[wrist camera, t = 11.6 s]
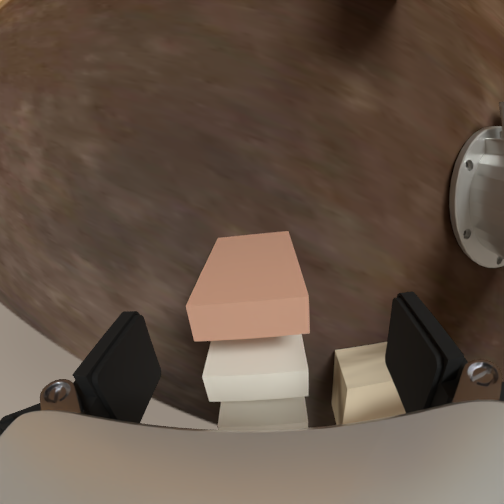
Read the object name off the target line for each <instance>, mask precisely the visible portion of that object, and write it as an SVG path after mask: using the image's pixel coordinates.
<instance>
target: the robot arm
mask: <svg viewBox="0 0 504 504" xmlns="http://www.w3.org/2000/svg"><path fill="white" fill-rule="evenodd" d="M499 108H500V116H501V119H502V126H490V127H485V128H482V129H480V130H479V131H477V132H475V133H474V134H473V135H472V136H471V137H470V138H469V139H468V140H467V142H466V143H465V145H464V146H463V148H462V149H461V151H460V153H459V156H458V158H457V160H456V162H455V166H454V170H453V173H452V178H451V185H450V198H449V208H450V217H451V223H452V227H453V232H454V235H455V237H456V239H457V242H458V244H459V246H460V247H461V249H462V250H463V252H464V253H465V254H466V255H467V256H468V257H469V258H470V259H471V260H473V261H474V262H476V263H477V264H479V265H481V266H484V267H486V268H498V267H502V266H504V102H499ZM385 363H386V366H387V368H388V371H389V373H390V375H391V378H392V380H393V382H394V385H395V387H396V390H397V392H398V394H399V397H400V399H401V402H402V404H403V407H404V409H405V412H406V413H404V414H400V415H395V416H390V417H384V418H379V419H373V420H367V421H361V422H354V423H347V424H340V425H331V426H322V427H311V428H299V429H282V430H205V429H189V428H176V427H166V426H156V425H148V424H141V423H140V421H141V419H142V417H143V414H144V412H145V410H146V408H147V405H148V403H149V401H150V399H151V397H152V395H153V392H154V390H155V388H156V386H157V384H158V381H159V379H160V377H161V368H160V366H159V363H158V360H157V357H156V354H155V351H154V348H153V345H152V342H151V339H150V336H149V333H148V330H147V327H146V323H145V320H144V317H143V316H142V315H140V314H139V313H138V312H137V311H135V312H123V313H122V314H121V315H120V316H119V317H118V318H117V320H116V321H115V322H114V323H113V324H112V326H111V327H110V328H109V329H108V331H107V332H106V333H105V334H104V335H103V337H102V338H101V339H100V340H99V342H98V343H97V344H96V345H95V347H94V348H93V349H92V350H91V352H90V353H89V354H88V356H87V357H86V358H85V359H84V361H83V362H82V363H81V365H80V366H79V367H78V368H77V370H76V371H75V372H74V374H73V376H74V378H75V382H74V383H72V382H71V381H69V380H66V379H59V380H55V381H53V382H51V383H50V384H48V385H47V386H46V387H45V388H44V389H43V390H42V392H41V394H40V403H39V404H37V405H34V406H31V407H29V408H26V409H23V410H21V411H18V412H15V413H12V414H10V415H7V416H5V417H3V418H2V419H1V420H0V504H504V382H502V379H503V378H502V372H501V370H500V368H499V367H498V366H497V365H496V364H494V363H493V362H491V361H488V360H485V359H475V360H472V361H469V362H467V360H466V359H465V358H464V355H463V353H462V352H461V351H460V349H459V348H458V347H457V345H456V344H455V343H454V341H453V340H452V339H451V338H450V336H449V335H448V334H447V332H446V331H445V330H444V329H443V327H442V326H441V325H440V323H439V322H438V321H437V320H436V318H435V317H434V316H433V315H432V313H431V312H430V311H429V310H428V309H427V307H426V306H425V305H424V304H423V303H422V301H421V300H420V299H419V298H418V297H417V295H416V294H415V293H414V292H406V293H399V294H398V295H397V298H394V299H393V302H392V311H391V319H390V327H389V334H388V341H387V347H386V353H385Z"/></svg>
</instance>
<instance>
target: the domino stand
mask: <svg viewBox="0 0 504 504" xmlns="http://www.w3.org/2000/svg"><path fill="white" fill-rule="evenodd" d="M386 347H387V342H383V343H377V344H371V345H365V346H359V347H352V348H346V349H339V350H335V358H334V375H333V389H332V401H331V404H332V408H333V412H334V417H335V421H336V425H340V424H347V423H354V422H361V421H367V420H373V419H379V418H384V417H390V416H395V415H400V414H404V413H406V412H405V409H404V407H403V404H402V402H401V399H400V397H399V394H398V392H397V390H396V387H395V385H394V382H393V380H392V378H391V375H390V373H389V371H388V368H387V366H386V363H385V353H386Z"/></svg>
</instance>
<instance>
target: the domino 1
mask: <svg viewBox="0 0 504 504" xmlns="http://www.w3.org/2000/svg"><path fill="white" fill-rule="evenodd" d="M186 309H187V313H188V318H189V322H190V326H191V330H192V334H193V338H194V341H219V340H237V339H252V338H265V337H277V336H288V335H298V334H307V333H310V326H309V296H308V292H307V289H306V286H305V282H304V279H303V276H302V273H301V270H300V266H299V263H298V260H297V257H296V254H295V251H294V248H293V244H292V241H291V238H290V235H289V232H288V231H284V232H273V233H263V234H253V235H243V236H233V237H223V238H218V239H217V241H216V243H215V245H214V247H213V249H212V251H211V253H210V255H209V258H208V260H207V262H206V264H205V266H204V268H203V270H202V272H201V274H200V277H199V279H198V281H197V283H196V285H195V287H194V289H193V291H192V294H191V296H190V298H189V300H188V302H187V304H186Z"/></svg>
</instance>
